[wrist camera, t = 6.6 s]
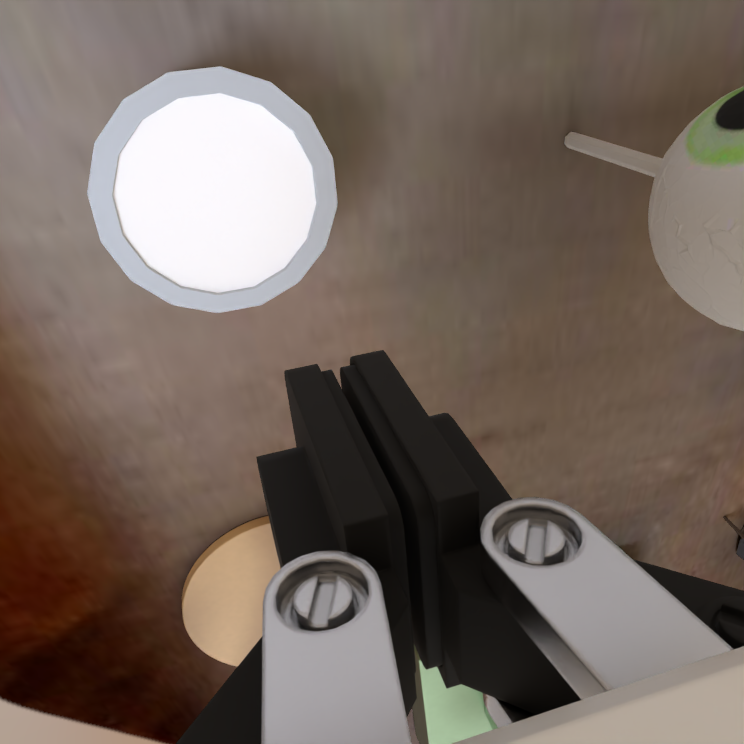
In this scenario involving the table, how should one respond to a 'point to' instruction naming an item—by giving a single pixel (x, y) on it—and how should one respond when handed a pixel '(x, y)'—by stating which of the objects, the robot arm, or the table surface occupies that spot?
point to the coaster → (230, 591)
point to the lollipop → (695, 207)
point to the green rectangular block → (447, 709)
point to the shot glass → (212, 189)
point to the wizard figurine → (743, 544)
